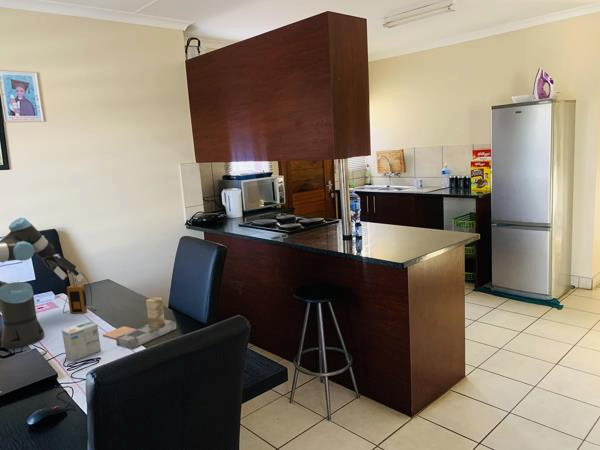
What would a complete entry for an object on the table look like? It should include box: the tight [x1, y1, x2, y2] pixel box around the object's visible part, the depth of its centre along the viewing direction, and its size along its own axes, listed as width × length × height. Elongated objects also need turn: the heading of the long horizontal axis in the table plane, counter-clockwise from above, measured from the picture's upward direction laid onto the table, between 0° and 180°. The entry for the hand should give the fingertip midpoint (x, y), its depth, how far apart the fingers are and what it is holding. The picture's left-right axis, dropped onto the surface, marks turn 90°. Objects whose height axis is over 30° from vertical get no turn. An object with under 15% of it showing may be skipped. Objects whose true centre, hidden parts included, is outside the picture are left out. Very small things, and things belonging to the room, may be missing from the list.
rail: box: [115, 318, 177, 350], centre depth 182 cm, size 22×9×3 cm, turn 147°
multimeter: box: [62, 272, 97, 314], centre depth 219 cm, size 15×10×20 cm
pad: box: [102, 325, 136, 341], centre depth 187 cm, size 10×10×1 cm
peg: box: [145, 296, 166, 328], centre depth 186 cm, size 4×4×14 cm
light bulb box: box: [61, 320, 102, 362], centre depth 169 cm, size 11×7×11 cm, turn 141°
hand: (73, 278), depth 214 cm, fingers open, 13 cm apart
